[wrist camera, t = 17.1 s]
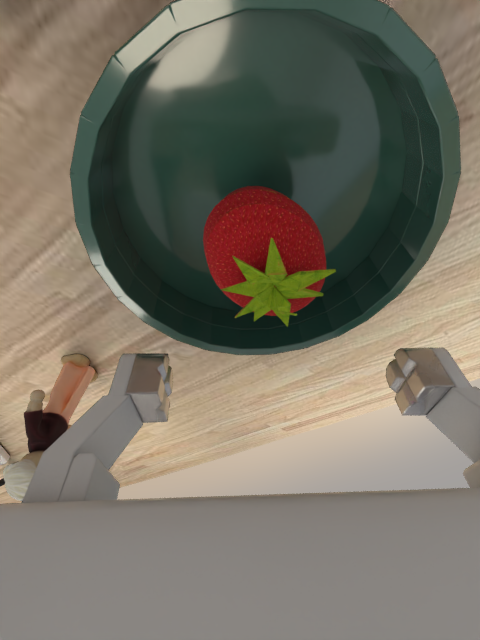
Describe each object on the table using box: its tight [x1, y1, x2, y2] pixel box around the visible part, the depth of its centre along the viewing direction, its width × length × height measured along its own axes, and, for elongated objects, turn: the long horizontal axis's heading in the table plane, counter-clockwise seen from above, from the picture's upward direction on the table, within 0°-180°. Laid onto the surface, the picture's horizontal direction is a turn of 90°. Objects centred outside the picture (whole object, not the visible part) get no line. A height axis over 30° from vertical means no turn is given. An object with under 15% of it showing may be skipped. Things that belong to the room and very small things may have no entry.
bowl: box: [70, 0, 461, 355], centre depth 18 cm, size 20×20×5 cm
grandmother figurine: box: [3, 354, 98, 501], centre depth 27 cm, size 8×4×13 cm, turn 9°
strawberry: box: [203, 186, 336, 327], centre depth 16 cm, size 6×8×10 cm
